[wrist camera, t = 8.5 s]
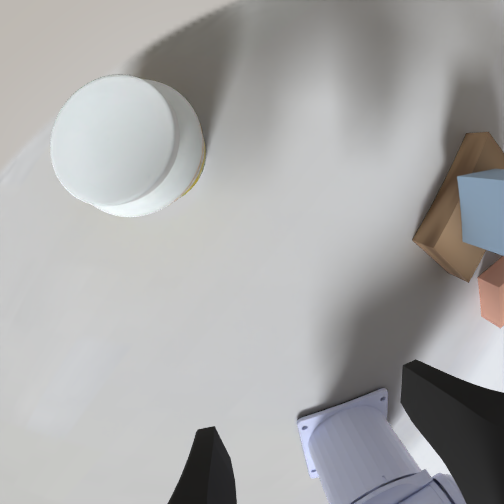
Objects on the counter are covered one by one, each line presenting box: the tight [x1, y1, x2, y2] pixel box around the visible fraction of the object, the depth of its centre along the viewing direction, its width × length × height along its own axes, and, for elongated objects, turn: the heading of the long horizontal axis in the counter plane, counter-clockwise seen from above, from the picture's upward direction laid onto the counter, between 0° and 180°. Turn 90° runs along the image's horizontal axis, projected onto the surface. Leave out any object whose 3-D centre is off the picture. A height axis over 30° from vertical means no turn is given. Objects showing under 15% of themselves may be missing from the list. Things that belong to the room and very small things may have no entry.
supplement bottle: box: [50, 74, 206, 217], centre depth 13 cm, size 5×5×10 cm
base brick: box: [412, 132, 504, 283], centre depth 19 cm, size 10×5×3 cm, turn 147°
